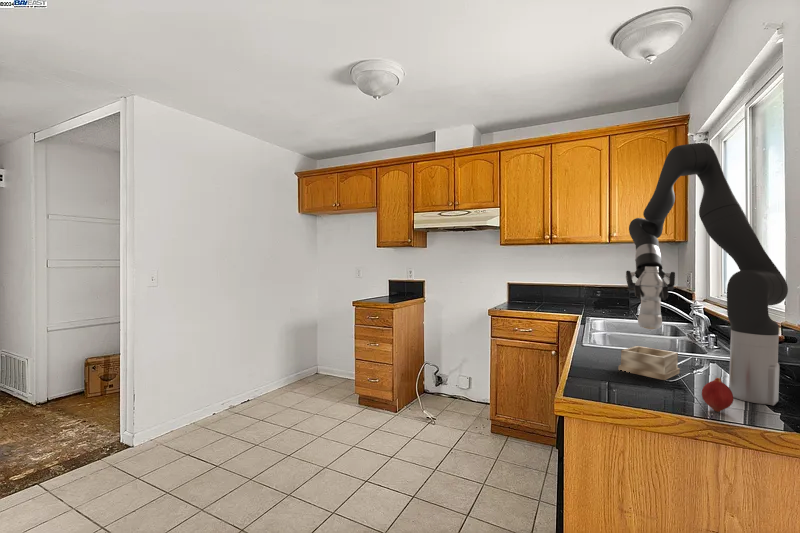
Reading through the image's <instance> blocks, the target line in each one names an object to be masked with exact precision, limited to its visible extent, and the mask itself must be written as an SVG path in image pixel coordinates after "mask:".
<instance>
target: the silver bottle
mask: <svg viewBox="0 0 800 533" xmlns="http://www.w3.org/2000/svg"><path fill="white" fill-rule="evenodd" d="M658 268H659V267H645V271H644V272H646V273H645V275H644V276H643V277H642V279H641V280H640V293H641V295H640V307H639V313H638V317H637V324H638V326H639V327H640V328H643V329H646V330H650V331H651V330H659V329H661V327H662V325H663V318H662V312H661V311H662V310H661V309H662V307H661V301H662V290H663V281H662V279H661V278H660V277H659V275H658V272H659V271H658Z"/></svg>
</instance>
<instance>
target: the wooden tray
mask: <svg viewBox="0 0 800 533" xmlns="http://www.w3.org/2000/svg"><path fill="white" fill-rule="evenodd" d="M620 351H621V354H620V355H621V356H620V364H619V365H618V371H620V370H622V371H621V372H624V371H626V373H629V372H630V374H635V375H639V376H644V377H648V378H653V379H657V380H661V381H666V380H668V379H670V378H673V377H675V376H676V375H679V374H680V373H681V372H680V370H681V368H679V367H678V360H679V358H678V357H679V352H676V351H671V350H665V349H658V348H651V347H646V346H641V345H634V346H631V347H627V348H624V349H622V350H620Z"/></svg>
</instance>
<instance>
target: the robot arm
mask: <svg viewBox="0 0 800 533" xmlns="http://www.w3.org/2000/svg"><path fill="white" fill-rule="evenodd" d="M694 175H696V176H697V177H698V178H699V180H700V182H701V185H702V187H703V191H702V192H703V194H702V197H701V201H700V205H699V209H698V210H699V211H698V214H699V215H698V216H699V219H700V221H701V223H702V226H703V227H704V229H705V231H706V233H707V234H708V236H709V238H711V240H713V242H715V243H716V244H717V245H718V247H719V248H721V249H722V250H723V251H725V253H727V254H728V255H729V257H731V258H732V260H733V261H734V263H735V264H736V265H737V268H738V269H739V271H737V272H735V273H733V274H732V276H730V278H729V280H728V283H727V286H726V307H727V308H726V310H727V311H726V312H727V314H726V315H727V318H728V321H729V324H730V345H729V347H730V350H729V351H730V352H729V372H728V373H729V375H728V376H729V377H728V378H729V379H728V381H729V382H728V387H729V388H730V390H731V391H732V394H733V399H737V400H740V401H743V402H744V401H745V402H748V403H754V404H758V405H759V404H760V405H770V406H773V407H774V406H775V405H776V404H777V403H778V402H779V394H780V392H779V390H780V388H779V387H780V363H778V362H779V341H780V340H779V338H780V337H779V336H780V335H779V334H780V326H779V324H778V322H776V321H775V320H772V318H771V317H770V315H769V306H775V305H779V304H781V303H782V302H784V301H785V300H786V298H787V297H788V292H789V287H788V284H787V281H786V279H785V276H784V275H783V274H782V273H781V271H780V270H779V268H778V267H777V266H776V265H775V263H774V262H773V260H772V259H771V258H770V257H769V255H768V253H767V251H766V250H765V249H764V247H763V245H762V244H761V242H760V240H759V239H758V236H757V235H756V233H755V231H754V229H753V228H752V226H751V224H750V221H749V219H748V218H747V215H746V214H745V212H744V210H743V208H742V207H741V205H740V203H739V202H738V200H737V198H736V196H735V195H734V193H733V191H732V188H731V186H730V185H729V183H728V181H727V179H726V176H725V173H724V172H723V169H722V166H721V164H720V160H719V158H718V155H717V153H716V151H715V150H714V148H713V147H712V146H711V145H710V144H709V143H707V142H695V143H694V142H693V143H689V144H687V143H686V144H680V145H676V146H674V147H672V149H670V150H669V152H668V154H667V156H666V157H665V160H664V162H663V166H662V168H661V172H660V174H659V177H658V180H657V184H656V186H655V189H654V191H653V193H652V196H651V198H649V201H648V203H647V204H646V206H645V208H644V210H643V214H642V215H643V217H636V218H634V219H632V220H631V221H630V222H629V224H628V225H629V226H628V231H629V232H628V233H629V235H630V238H631V240H632V241H633V243H634V245H635V259H634V261H635V271H631V270H626V271H625V279H626V285H627V288H628V289H633V290H634V297H636V298H637V299H640V300H641V293H640V280H641V279H642V277H643V276H644V275H645V273H646V272H644V271H645V267H659V268H658V271H659V272H658V275H659V277H660V278H661V279H662V281H663V290H662V295H661V299H662V300H664V301H665V300H666V299H668V297H669V291H674V287H675V283H676V282H675V280H676V272H675V271H671V272H670V273H668V272H665V271H664V268H663V260H662V254H661V250H660V244H659V243H660V242H659V241H660V240H659V239H658V238H660V237H661V236H662V234H663V230H664V224H665V220H666V218H667V216H668V215H669V213H670V212H671V210H672V209H673V208H674V205H675V200H676V195H675V194H676V193H675V191H674V185H675V183H676V182H677V180H678V179H679V178H680V177H685V176H694ZM634 277H635V278H636V279H637V281H635V282H633V279H634ZM664 278H666V280H667V281H669V282H668V283H667V282H666V281H665V279H664Z"/></svg>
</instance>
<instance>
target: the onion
mask: <svg viewBox="0 0 800 533" xmlns="http://www.w3.org/2000/svg"><path fill="white" fill-rule="evenodd" d="M701 396H702V401H704V403H705V404H707V405H708V406H709V407H710V408H711V409H712V410H713V411H715V412H722V411H724V410H725V409H727V408H729V407H731V406H732V405H733V402H734V397H733V394H732V391H731V390H730V388H729V385H727V384H725V383H724V382H723V381H722V379H721V378H720V377H715V379H714V380H712V381H709V382H707V383H705V384H704V386H703V387H702V390H701Z"/></svg>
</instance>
